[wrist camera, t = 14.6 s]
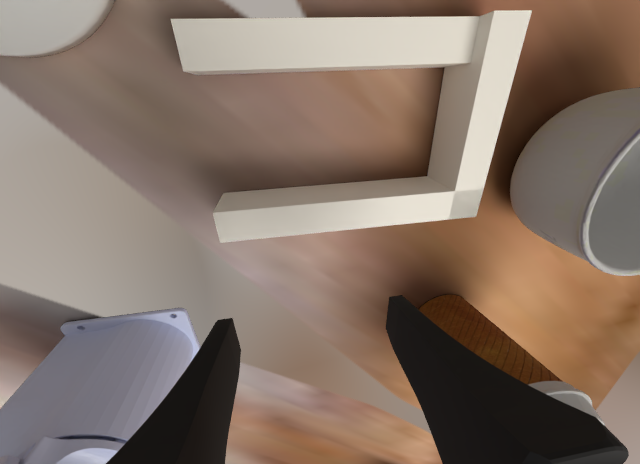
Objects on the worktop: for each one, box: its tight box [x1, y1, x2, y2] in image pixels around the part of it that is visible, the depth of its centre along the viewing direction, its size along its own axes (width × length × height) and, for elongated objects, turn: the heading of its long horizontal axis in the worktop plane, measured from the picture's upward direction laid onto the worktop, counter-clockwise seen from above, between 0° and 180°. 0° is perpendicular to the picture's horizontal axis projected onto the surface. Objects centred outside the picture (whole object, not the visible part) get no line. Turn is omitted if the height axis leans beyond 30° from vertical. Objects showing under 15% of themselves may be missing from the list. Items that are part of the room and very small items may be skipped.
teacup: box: [510, 87, 640, 276], centre depth 17 cm, size 14×11×8 cm
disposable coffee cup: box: [418, 295, 605, 426], centre depth 22 cm, size 10×10×12 cm
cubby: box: [171, 10, 532, 243], centre depth 16 cm, size 17×11×4 cm, turn 92°
